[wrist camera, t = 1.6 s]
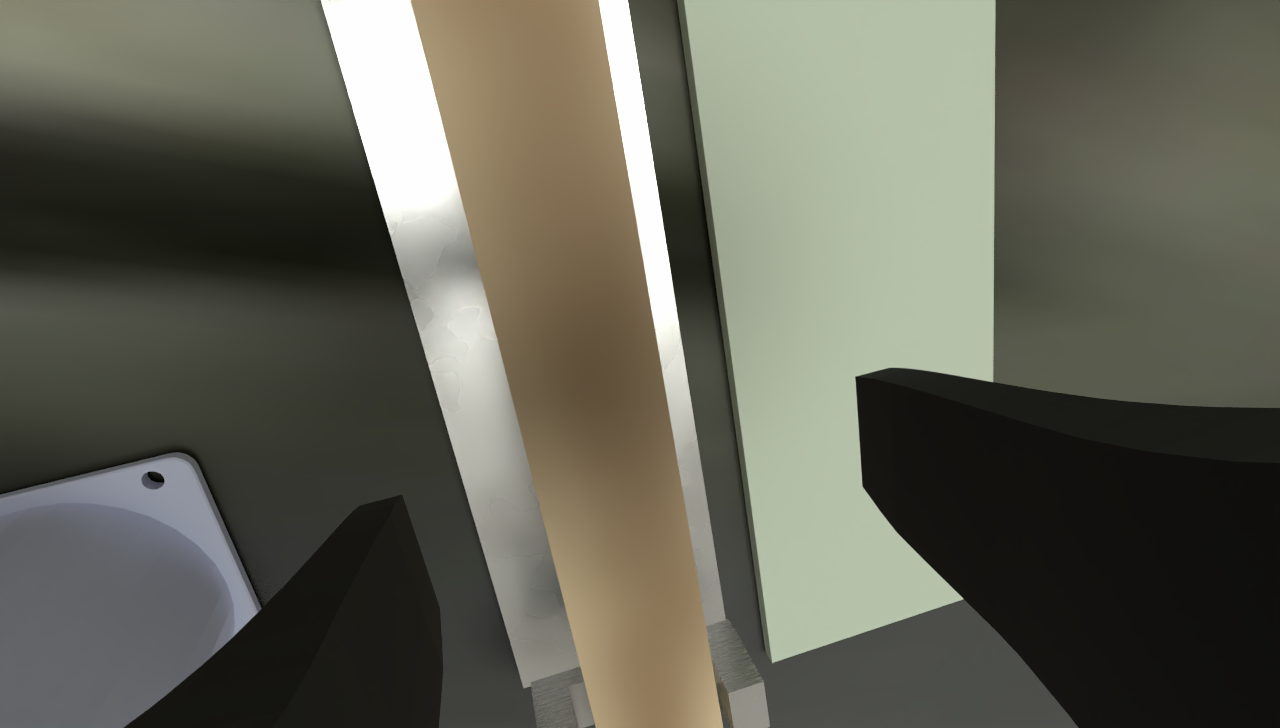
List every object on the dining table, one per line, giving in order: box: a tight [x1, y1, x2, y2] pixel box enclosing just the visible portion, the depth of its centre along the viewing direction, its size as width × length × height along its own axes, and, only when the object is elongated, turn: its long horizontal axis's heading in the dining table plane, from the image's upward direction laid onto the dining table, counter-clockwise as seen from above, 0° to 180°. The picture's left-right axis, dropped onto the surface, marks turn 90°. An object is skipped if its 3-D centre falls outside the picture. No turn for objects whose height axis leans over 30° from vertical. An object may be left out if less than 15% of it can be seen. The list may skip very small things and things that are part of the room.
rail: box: [411, 0, 723, 728], centre depth 16 cm, size 3×24×3 cm, turn 9°
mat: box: [677, 0, 995, 663], centre depth 22 cm, size 9×28×1 cm, turn 9°
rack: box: [321, 0, 770, 728], centre depth 18 cm, size 7×23×6 cm, turn 9°
